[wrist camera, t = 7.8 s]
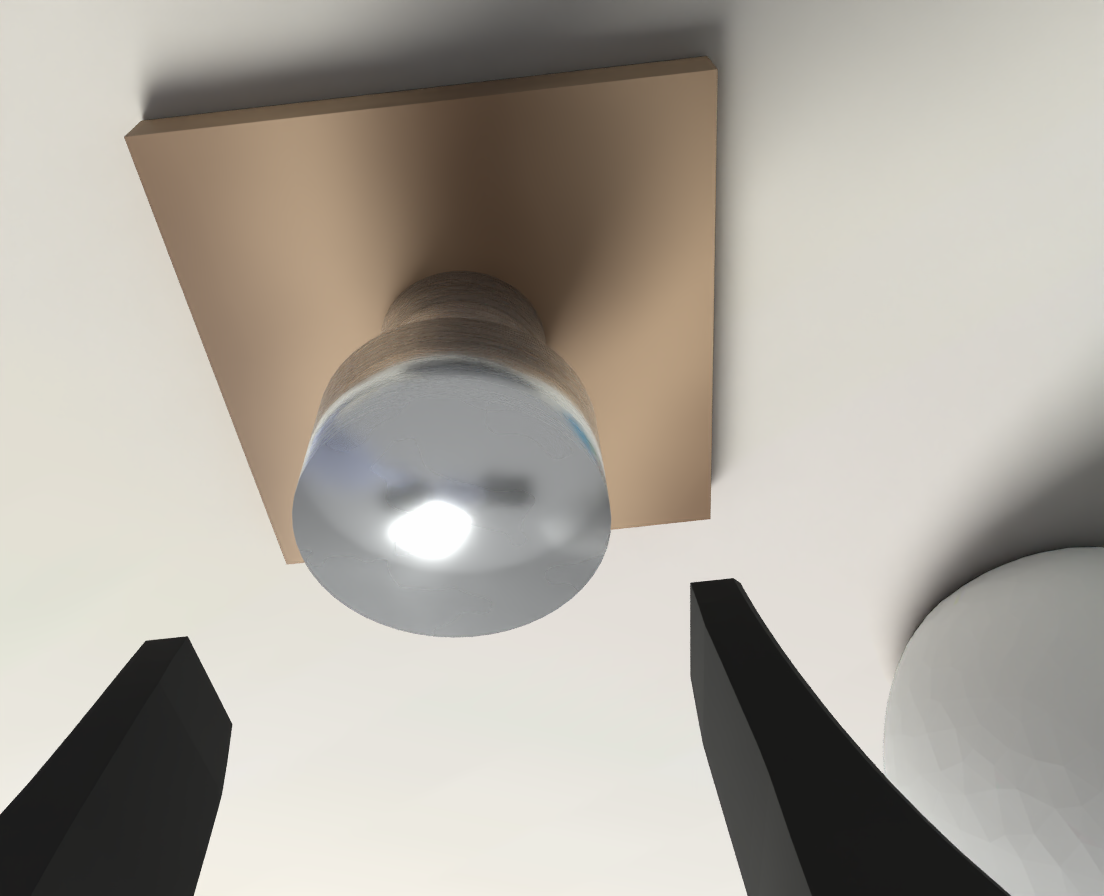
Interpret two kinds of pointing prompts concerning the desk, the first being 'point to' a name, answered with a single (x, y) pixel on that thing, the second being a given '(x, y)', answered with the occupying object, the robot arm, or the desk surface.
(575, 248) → the pad
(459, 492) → the end cover
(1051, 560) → the decorative egg
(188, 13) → the desk surface
